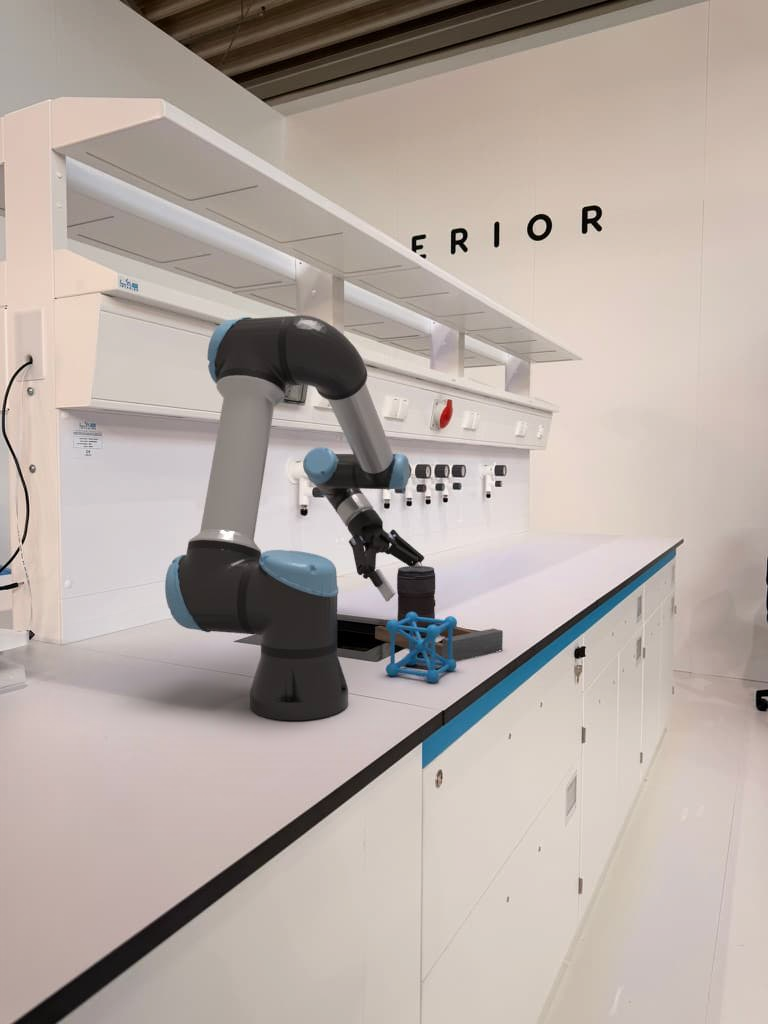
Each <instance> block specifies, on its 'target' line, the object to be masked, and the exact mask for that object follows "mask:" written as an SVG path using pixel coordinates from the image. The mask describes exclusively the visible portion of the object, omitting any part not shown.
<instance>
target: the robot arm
mask: <svg viewBox="0 0 768 1024" xmlns="http://www.w3.org/2000/svg"><path fill="white" fill-rule="evenodd" d="M209 339H210V340H209V342H208V349H207V355H206V356H207V357H206V358H207V361H209V363H208V365H207V367H208V371H209V375H210V378H211V379H212V381H213V383H214V384H216V390H217V391H218V393H219V394H220V395H221V397H222V398H223V399H222V404H221V411H220V416H219V421H218V422H219V423H218V428H217V433H216V440H215V445H214V451H213V457H212V460H211V461H212V462H211V469H210V472H209V473H210V474H209V480H208V485H207V491H206V497H205V502H204V503H205V504H204V507H203V514H202V519H201V525H200V531H199V533H198V534H197V535H195V536H194V537H192V538H190V539H189V540H188V542H187V549H186V554H181V555H178V556H177V557H175V558H173V560H172V562H171V563H170V564H169V566H168V568H167V571H166V575H165V583H164V591H165V599H166V604H167V607H168V609H169V611H170V615H171V616H172V618H173V619H174V621H175V622H176V623H177V624H178V625H180V627H183V628H185V629H188V630H195V631H197V630H198V631H201V632H205V633H211V632H215V633H219V632H220V633H231V634H233V633H234V634H246V635H259V636H260V657H259V662H258V665H257V668H256V670H255V673H254V676H253V681H252V683H251V687H250V690H249V709H250V710H251V711H252V712H253V713H255V714H257V715H259V716H262V717H265V718H268V719H273V720H281V721H306V720H316V719H322V718H326V717H331V716H334V715H336V714H338V713H341V712H342V711H344V710H345V709H347V707H348V705H349V687H348V684H347V680H346V678H345V675H344V672H343V669H342V665H341V662H340V659H339V657H338V594H339V587H338V580H337V577H338V576H337V575H338V574H337V568H336V566H335V564H334V563H333V561H332V560H330V559H329V558H327V557H324V556H322V555H319V554H315V553H311V552H304V551H299V550H285V549H271V550H265V551H263V552H262V550H261V548H259V546H258V545H257V543H255V535H256V527H257V520H258V514H259V506H260V501H261V495H262V489H263V482H264V475H265V470H266V462H267V456H268V449H269V443H270V436H271V430H272V423H273V418H274V417H273V416H274V410H275V407H277V406H279V405H281V404H282V403H283V402H284V401H285V398H286V391H287V387H288V386H289V387H290V386H310V387H313V388H315V390H316V391H317V393H318V394H319V395H320V397H322V398H324V400H327V401H328V403H329V405H330V407H331V409H332V412H333V413H334V416H335V417H336V421H337V422H338V424H339V427H340V428H341V430H342V433H343V434H344V437H345V439H346V440H347V443H348V445H349V447H350V449H351V452H352V453H335V451H333V450H331V449H330V448H328V447H326V446H317V447H314V448H312V449H310V450H309V451H308V452H307V453H306V455H305V456H304V458H303V462H302V465H303V466H302V467H303V468H302V469H303V471H304V473H305V475H306V476H307V478H308V479H309V481H310V482H311V483H312V484H314V486H315V487H317V489H319V491H320V493H322V494H323V496H324V497H325V498H326V499H327V501H328V502H329V504H330V505H331V506H332V508H333V509H334V511H335V512H336V514H337V515H338V517H339V518H340V520H341V521H342V522H343V524H344V526H345V527H347V530H348V532H349V534H350V535H351V537H350V539H349V540H348V543H349V545H350V546H351V549H352V554H353V558H354V562H355V568H356V573H357V574H358V576H362V578H363V579H365V580H367V579H368V578H369V580H370V581H371V582H372V584H373V586H374V587H375V588H377V590H378V591H379V593H380V595H381V596H382V597H383V599H384V600H385V603H386V602H387V603H388V602H389V601H390V600H391V599H392V598H393V597H394V596H395V595H396V593H397V592H396V591H395V590H394V588H393V587H392V585H390V584H391V583H390V582H389V581H388V580H387V577H385V575H384V573H383V572H382V570H381V569H380V568H377V567H376V565H377V564H376V563H377V554H380V553H382V554H383V553H385V555H391V556H393V557H394V558H396V559H397V560H399V561H401V562H402V563H404V564H405V565H406V566H423V564H422V562H423V561H424V560H425V556H424V555H422V553H420V552H419V551H418V550H416V549H415V548H414V547H413V546H412V545H411V544H409V543H408V542H407V540H405V539H404V538H402V537H401V536H400V535H399V533H398V532H397V531H396V530H395V529H391V530H390V531H389V532H387V531H385V530H384V527H383V526H384V525H383V524H384V523H383V520H382V518H381V517H380V515H379V514H378V513H377V510H374V506H373V505H372V503H371V502H370V501H369V500H368V498H367V497H366V495H365V494H364V493H363V492H362V491H361V489H363V490H388V491H390V490H402V489H404V488H406V487H407V485H408V483H409V479H410V463H409V462H410V461H409V458H408V457H407V455H405V454H400V453H398V452H397V453H396V452H394V453H393V450H392V448H391V445H390V443H389V440H388V438H387V437H388V436H387V435H386V432H385V430H384V427H383V425H382V422H381V420H380V417H379V415H378V412H377V409H376V406H375V404H374V402H373V399H372V397H371V394H370V391H369V388H368V386H367V380H368V370H367V367H366V364H365V362H364V360H363V358H362V357H363V356H361V354H360V352H359V351H358V349H357V348H356V347H355V345H354V344H353V343H352V342H351V341H350V339H349V338H347V336H345V334H343V333H342V332H341V331H340V330H338V329H337V328H336V327H335V326H333V325H331V324H330V323H328V322H326V321H325V320H323V319H320V318H318V317H315V316H311V315H304V314H299V315H290V316H289V315H287V316H286V315H285V316H270V317H268V316H267V317H255V318H254V317H250V316H249V317H248V316H244V317H243V316H242V317H240V318H234V319H228V320H225V321H223V322H221V323H220V324H219V325H217V327H216V328H215V330H214V331H213V333H212V334H211V337H210V338H209ZM376 568H377V569H376Z"/></svg>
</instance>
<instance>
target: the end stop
mask: <svg viewBox="0 0 768 1024" xmlns="http://www.w3.org/2000/svg"><path fill="white" fill-rule="evenodd" d="M503 635H504V634H503V630H502V629H497V628H489V629H485V630H479V631H476V632H473V633H468V634H463V635H458V636H453V637H452V659H454V660H455V661H456V662H459V661H463V659H464V660H468V659H472V657H473V658H476V656H477V657H481V656H485V654H486V655H488V654H489V653H490V654H493V653H492V652H494V653H497V652H496V651H499V650H502V651H503ZM441 643H442V657H443V658H444V659H448V638H446V637H443V638H442V639H441ZM499 652H500V651H499Z"/></svg>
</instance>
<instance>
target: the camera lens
mask: <svg viewBox="0 0 768 1024" xmlns="http://www.w3.org/2000/svg"><path fill="white" fill-rule="evenodd" d="M396 589H397V592H396V593H397V622H399V621H401V620H403V619H406V615H407V613H409V612H415V613H416V614H417V615H418V617H424V618H432V619H436V613H435V611H436V610H435V607H436V599H435V594H436V573H435V568H434V567H432V566H426V565H422V566H408V565H406V566H402V567H398V569H397V575H396ZM433 624H435V623H432V622H423V621H417V622H416V625H417V627H419V628H427V627H428V626H429V625H433ZM402 625H403V626H410V624H408V623H405V624H402ZM403 631H404V632H406V633H407V634H410V631H409V630H403ZM419 634H420V636H421V638H426V636H427V633H425V632H419ZM414 636H416V634H415V632H414Z"/></svg>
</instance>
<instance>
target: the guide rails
mask: <svg viewBox="0 0 768 1024" xmlns="http://www.w3.org/2000/svg"><path fill="white" fill-rule="evenodd" d="M434 625H437V626H440V625H442V624H440V623H435V624H434ZM374 629H375V630H374V633H375V634H374V639H376V640H379V641H382V642H386V643H389V644H391V633H390V632H389V631H388V630H387V628H386V626H383V625H378V626H376V625H375V628H374ZM473 632H477V631H476V630H472V629H469V628H464V627H460V626H457V625H456V627H455V628H454V629H452V637H453V636H458V635H463V634H468V633H473ZM409 635H410V634H409ZM438 637H443V638H448V628H447V629H445V630H444V631H443V632H442V633H440V634H439V636H438ZM414 638H415V639H416V640H417V637H416V636H414ZM421 639H425V638H421ZM395 646H398V647H401V648H404V649H408V650H410V640H409V639H407V638H406V637H404V636H403V635H401V634H400V633H398V632H396V633H395ZM428 648H429V649H431V641H430V642H429V643H428ZM414 649H415V643H414V646H413V650H414ZM419 653H420V654H422V652H419ZM426 653H427V656H428V657H431V654H429V653H428V652H427V651H426ZM435 653H437V654H438V655H440V656H441V657H442V642H438V641H435Z"/></svg>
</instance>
